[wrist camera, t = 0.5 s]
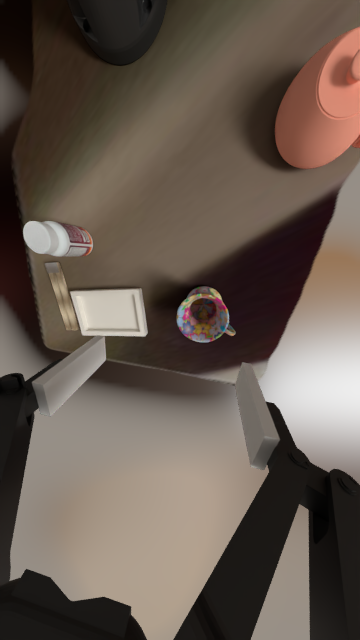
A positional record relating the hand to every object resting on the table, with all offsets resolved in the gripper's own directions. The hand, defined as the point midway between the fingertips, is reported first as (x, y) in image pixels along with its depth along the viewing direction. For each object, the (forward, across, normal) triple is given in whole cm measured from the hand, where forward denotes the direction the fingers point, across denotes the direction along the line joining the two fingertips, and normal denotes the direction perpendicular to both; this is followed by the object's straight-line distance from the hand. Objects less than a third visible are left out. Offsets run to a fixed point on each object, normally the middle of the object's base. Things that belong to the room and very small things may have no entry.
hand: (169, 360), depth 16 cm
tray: (+26, -20, -7) cm, 34 cm away
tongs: (+26, -34, -6) cm, 43 cm away
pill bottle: (+26, -27, +9) cm, 39 cm away
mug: (+26, +4, -2) cm, 26 cm away
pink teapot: (+26, +16, +30) cm, 43 cm away
